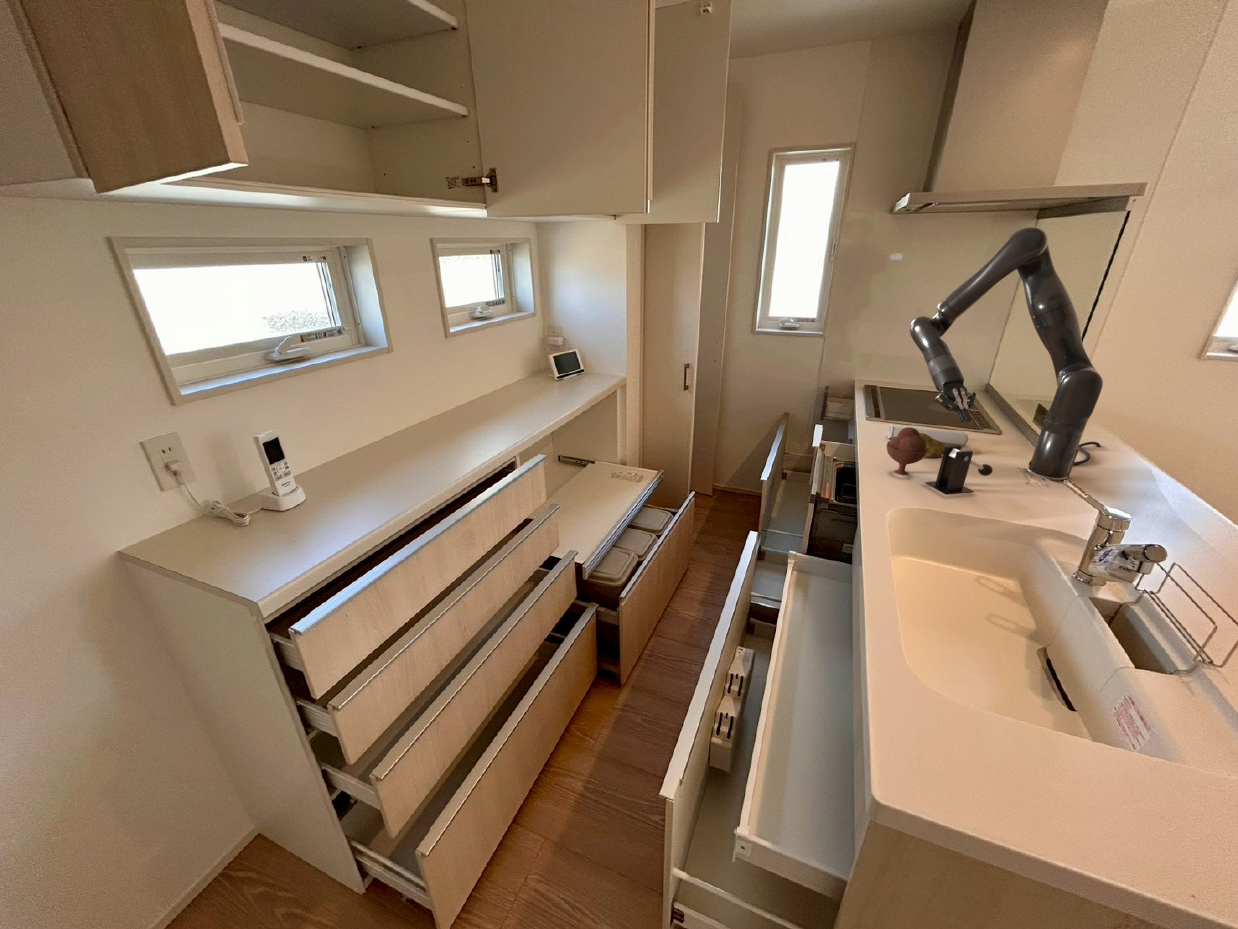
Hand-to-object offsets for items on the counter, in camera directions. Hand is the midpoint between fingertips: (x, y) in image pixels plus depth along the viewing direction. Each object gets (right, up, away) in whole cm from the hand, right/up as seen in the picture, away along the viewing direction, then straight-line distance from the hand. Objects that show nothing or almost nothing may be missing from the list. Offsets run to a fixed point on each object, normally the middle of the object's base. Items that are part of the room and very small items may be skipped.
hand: (966, 422), depth 147 cm
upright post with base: (-9, -20, -5) cm, 22 cm away
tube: (+8, -5, +33) cm, 34 cm away
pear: (0, -10, +20) cm, 22 cm away
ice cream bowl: (-17, -16, +5) cm, 24 cm away
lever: (-4, -13, -7) cm, 16 cm away
